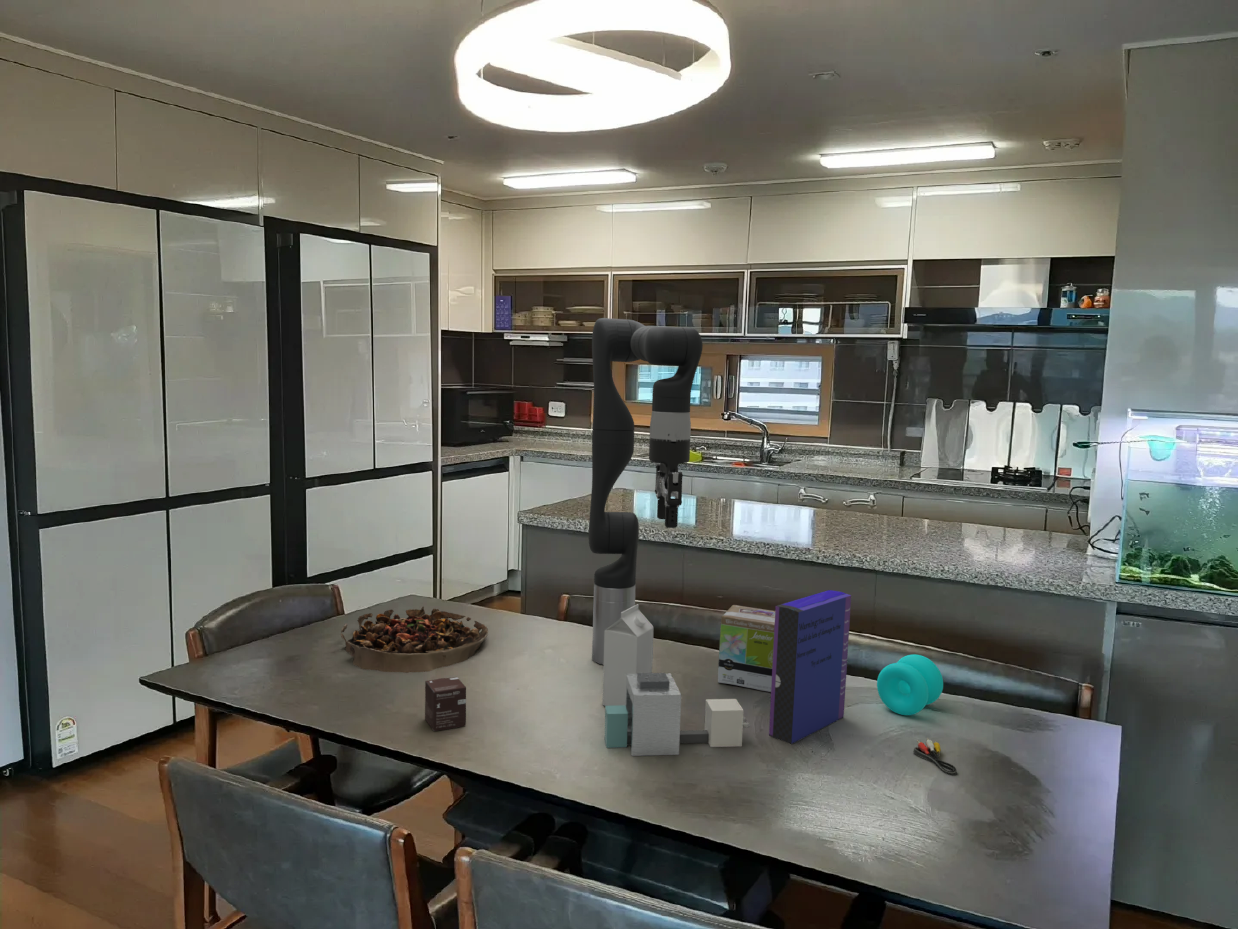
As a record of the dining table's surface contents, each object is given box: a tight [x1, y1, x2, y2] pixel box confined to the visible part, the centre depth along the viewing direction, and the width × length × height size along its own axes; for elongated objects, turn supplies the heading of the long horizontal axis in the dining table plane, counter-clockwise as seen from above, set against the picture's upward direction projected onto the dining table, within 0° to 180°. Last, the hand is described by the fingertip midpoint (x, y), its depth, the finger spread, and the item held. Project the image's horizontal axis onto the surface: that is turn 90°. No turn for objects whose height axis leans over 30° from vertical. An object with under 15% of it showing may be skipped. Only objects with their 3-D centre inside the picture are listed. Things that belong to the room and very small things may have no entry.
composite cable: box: [912, 737, 958, 776], centre depth 140 cm, size 10×5×2 cm, turn 2°
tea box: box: [717, 604, 775, 693], centre depth 173 cm, size 15×10×15 cm
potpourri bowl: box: [340, 606, 489, 674], centre depth 190 cm, size 35×33×8 cm
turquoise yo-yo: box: [876, 653, 944, 716], centre depth 162 cm, size 10×10×10 cm
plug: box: [604, 698, 751, 749], centre depth 144 cm, size 5×25×6 cm, turn 97°
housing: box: [625, 672, 682, 757], centre depth 143 cm, size 10×8×12 cm
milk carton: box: [601, 603, 654, 707], centre depth 160 cm, size 7×7×19 cm
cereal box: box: [768, 589, 852, 746], centre depth 151 cm, size 17×5×24 cm, turn 134°
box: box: [424, 676, 467, 732], centre depth 149 cm, size 6×6×7 cm
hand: (666, 523), depth 154 cm, fingers open, 8 cm apart
